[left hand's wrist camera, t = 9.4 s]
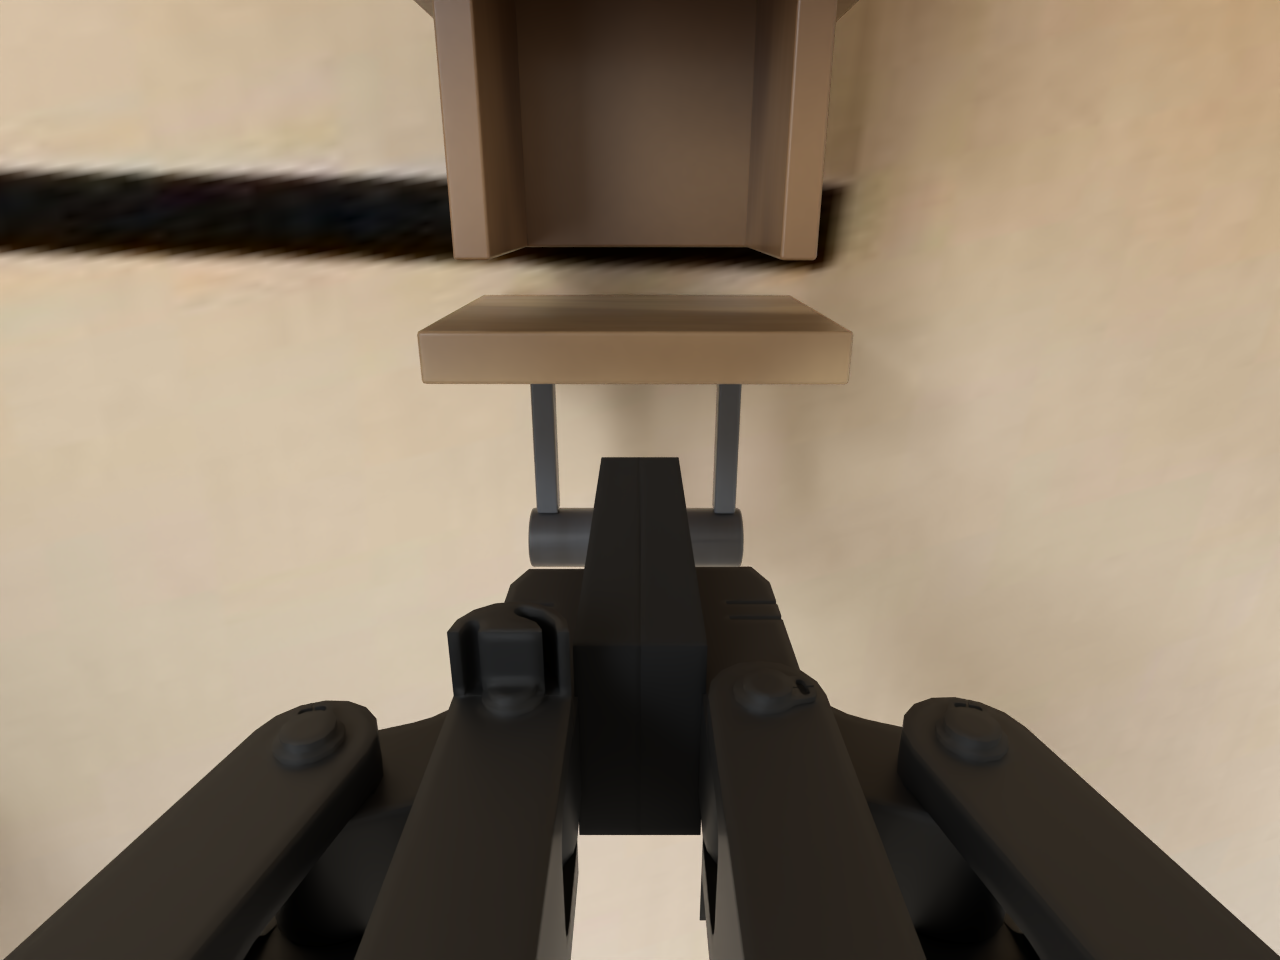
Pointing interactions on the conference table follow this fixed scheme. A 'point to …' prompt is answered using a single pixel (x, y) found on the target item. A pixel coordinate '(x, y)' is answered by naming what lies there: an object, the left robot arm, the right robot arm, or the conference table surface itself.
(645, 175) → the drawer
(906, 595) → the conference table surface
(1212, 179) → the conference table surface
